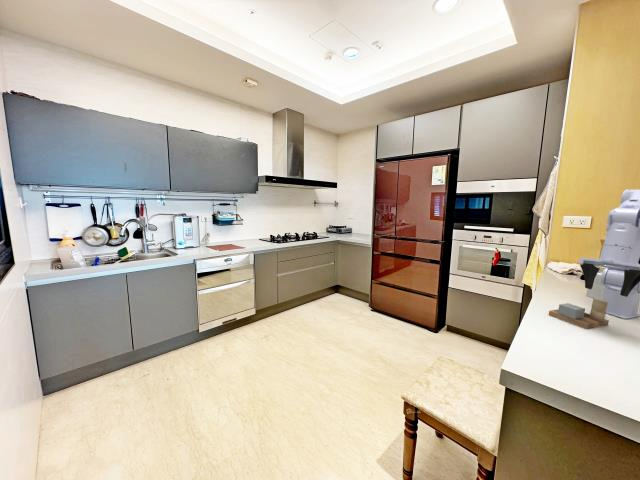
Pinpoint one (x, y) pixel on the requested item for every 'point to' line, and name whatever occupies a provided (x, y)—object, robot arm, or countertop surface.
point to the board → (579, 320)
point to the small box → (597, 288)
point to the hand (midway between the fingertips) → (605, 292)
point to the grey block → (571, 311)
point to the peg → (598, 310)
